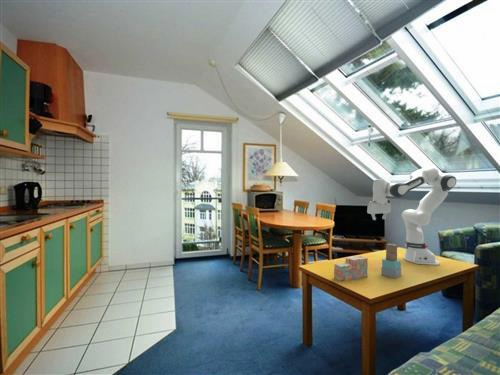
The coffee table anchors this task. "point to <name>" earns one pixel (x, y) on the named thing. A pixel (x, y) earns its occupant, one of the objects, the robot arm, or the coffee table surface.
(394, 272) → the tower base
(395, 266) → the tower top
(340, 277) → the stack of blocks
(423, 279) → the coffee table surface
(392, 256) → the walnut block
